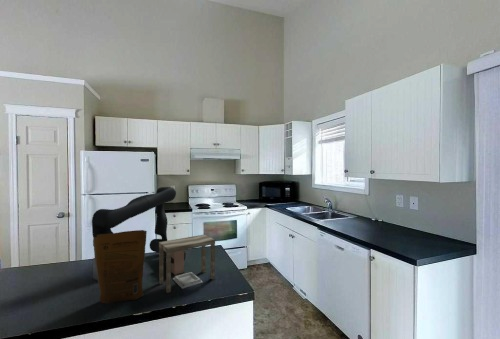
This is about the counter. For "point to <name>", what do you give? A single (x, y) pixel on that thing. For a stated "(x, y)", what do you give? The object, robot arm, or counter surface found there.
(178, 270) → the plain brown box
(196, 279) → the tray
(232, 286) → the counter surface
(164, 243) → the small wooden table
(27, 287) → the counter surface
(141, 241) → the pancake mix bag
